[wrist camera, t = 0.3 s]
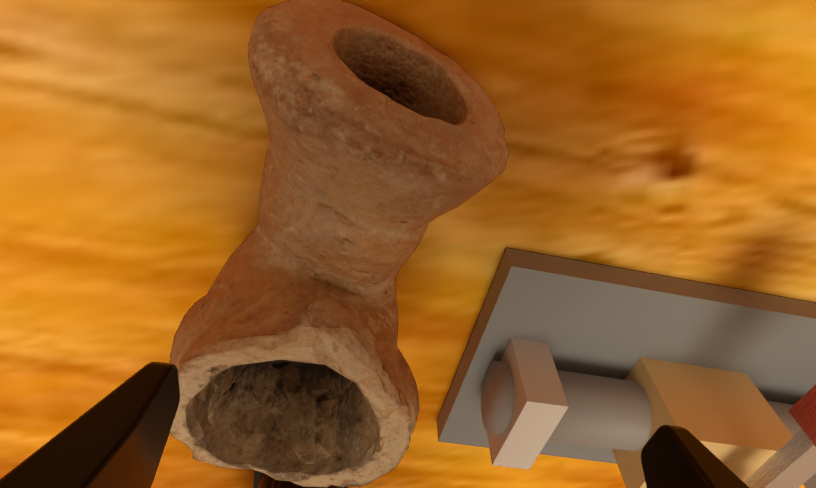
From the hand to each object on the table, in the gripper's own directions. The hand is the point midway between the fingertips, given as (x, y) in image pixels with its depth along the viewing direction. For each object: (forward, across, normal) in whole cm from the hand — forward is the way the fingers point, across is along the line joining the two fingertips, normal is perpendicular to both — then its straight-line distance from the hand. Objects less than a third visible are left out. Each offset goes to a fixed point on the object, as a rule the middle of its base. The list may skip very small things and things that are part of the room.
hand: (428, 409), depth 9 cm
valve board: (+14, -18, +12) cm, 26 cm away
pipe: (+14, +2, +4) cm, 15 cm away
